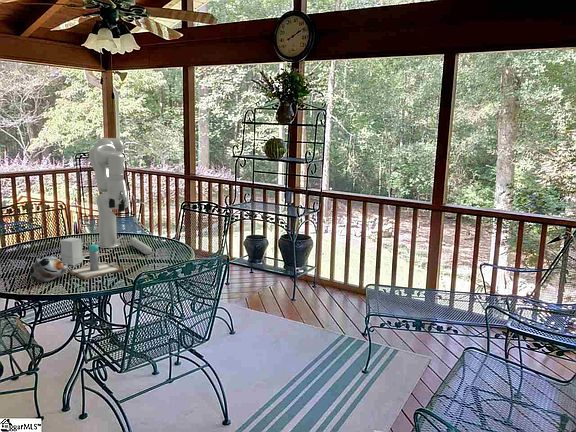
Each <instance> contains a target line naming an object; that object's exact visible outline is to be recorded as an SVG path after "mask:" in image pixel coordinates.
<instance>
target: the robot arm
mask: <svg viewBox="0 0 576 432" xmlns="http://www.w3.org/2000/svg"><path fill="white" fill-rule="evenodd" d="M96 141H97V142H96V143H95V144H96V145H95V146H96V147H93V148H91V149H89V151H88V158H89V162H90V165H91V167H92V169H93V171H94V173H95V174H94V175H95V182H96V187H97V190H98V192H100V193H99V194H98V195H97V197H96V206H97V211H98V225H99V226H98V229H99V232H98V233H99V237H98V239H97V240H98V242H99V243H96V245H98V247H100V248H99V249H104V248H109V249H115V248H119V247H120V242H118V240H117V239H118V238H117V235H118V233H117V229H118V228H117V216H116V214H115V213H114V212H113V211H112V210H118V212H125V210H126V208H128V207H129V195H128V189H127V183H126V180H125V178H124V177H125V175H124V173H125V171H124V162H125V156H124V154H123V152H124V148H125V147H124V143H123V140H122V139H121V138H118V137H101V138H99V139H98V140H96Z"/></svg>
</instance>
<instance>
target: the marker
mask: <svg viewBox="0 0 576 432" xmlns="http://www.w3.org/2000/svg"><path fill="white" fill-rule="evenodd" d="M88 252H89V266H90V271H98V270H99V264H100V262H99V248H98V245H97V243H96V244H89V245H88Z"/></svg>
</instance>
